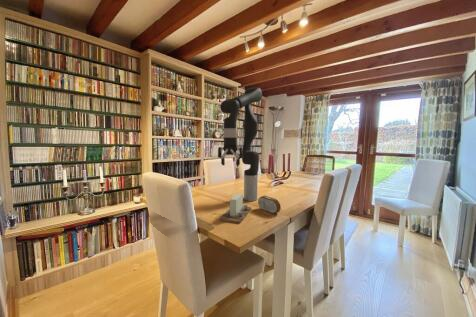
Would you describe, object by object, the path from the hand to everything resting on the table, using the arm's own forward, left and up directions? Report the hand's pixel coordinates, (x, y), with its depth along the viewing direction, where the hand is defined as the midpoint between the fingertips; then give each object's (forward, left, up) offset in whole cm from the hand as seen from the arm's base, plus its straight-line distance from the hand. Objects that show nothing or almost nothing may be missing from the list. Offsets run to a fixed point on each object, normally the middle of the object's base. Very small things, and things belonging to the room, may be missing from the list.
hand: (230, 165), depth 115 cm
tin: (-7, +21, -27) cm, 35 cm away
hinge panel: (+4, +5, -27) cm, 27 cm away
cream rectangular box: (+4, +5, -25) cm, 26 cm away
